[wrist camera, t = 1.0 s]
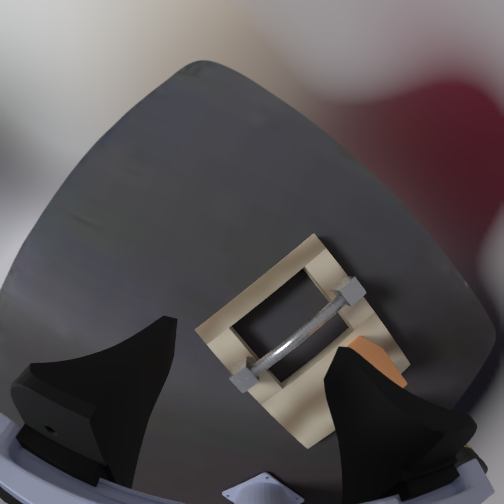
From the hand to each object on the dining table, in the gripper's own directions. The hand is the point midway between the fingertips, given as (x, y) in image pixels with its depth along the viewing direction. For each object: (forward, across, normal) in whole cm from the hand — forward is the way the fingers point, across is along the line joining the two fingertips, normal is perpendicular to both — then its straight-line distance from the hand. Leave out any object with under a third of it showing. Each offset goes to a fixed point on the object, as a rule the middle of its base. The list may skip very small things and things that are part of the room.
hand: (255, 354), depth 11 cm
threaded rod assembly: (+14, -6, +7) cm, 17 cm away
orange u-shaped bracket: (+13, -14, +8) cm, 21 cm away
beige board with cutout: (+15, -9, +10) cm, 20 cm away
